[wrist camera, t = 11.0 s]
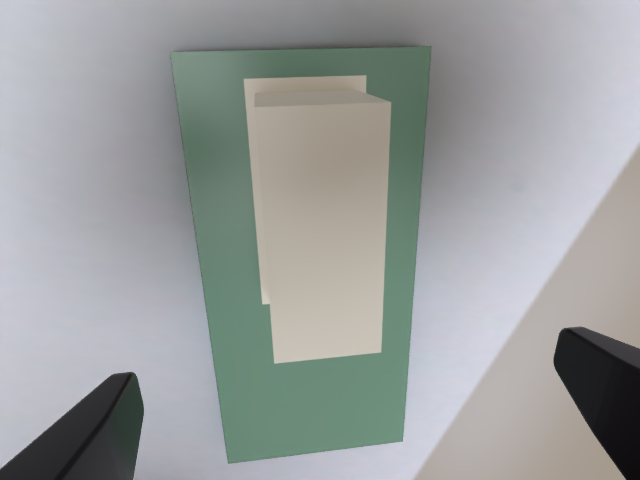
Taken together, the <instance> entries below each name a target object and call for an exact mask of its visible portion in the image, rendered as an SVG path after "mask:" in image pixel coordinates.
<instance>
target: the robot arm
mask: <svg viewBox="0 0 640 480" xmlns="http://www.w3.org/2000/svg"><path fill="white" fill-rule="evenodd" d="M554 366H555V369H556V371H557V373H558V375H559V376H560V378H561V380H562V382H563V383H564V385H565V387H566V388H567V390H568V392H569V394H570V395H571V397H572V398H573V400H574V402H575V404H576V405H577V407H578V409H579V411H580V412H581V414H582V416H583V417H584V419H585V421H586V422H587V424H588V426H589V427H590V429H591V430H592V432H593V434H594V435H595V437H596V438H597V439H598V441H599V442H600V444H601V445H602V447H603V448H604V449H605V451H606V452H607V454H608V455H609V456H610V458H611V459H612V461H613V462H614V463H615V465H616V466H617V468H618V469H619V470H620V472H621V473H622V475H623V476H624V477H625V479H626V480H640V349H639V348H636V347H634V346H631V345H628V344H625V343H623V342H621V341H618V340H615V339H613V338H610V337H607V336H604V335H602V334H600V333H597V332H594V331H592V330H589V329H587V328H584V327H570V328H564V329H562V330H561V332H560V333H559V337H558V341H557V345H556V350H555V354H554ZM143 415H144V406H143V401H142V396H141V392H140V388H139V383H138V379H137V376H136V374H135V373H133V372H126V373H116V374H113V375H111V376H110V377H108V378H107V379H106V380H105V381H104V382H102V383H101V384H100V385H99V386H98V387H97V388H95V389H94V390H93V391H92V392H91V393H89V394H88V395H87V396H86V397H85V398H84V399H82V400H81V401H80V402H79V403H78V404H76V405H75V406H74V407H73V408H72V409H71V410H69V411H68V412H67V413H66V414H65V415H64V416H62V417H61V418H60V419H59V420H58V421H56V422H55V423H54V424H53V425H52V426H51V427H49V428H48V429H47V430H46V431H45V432H43V433H42V434H41V435H40V436H39V437H38V438H36V439H35V440H34V441H33V442H32V443H31V444H29V445H28V446H27V447H26V448H25V449H23V450H22V451H21V452H20V453H19V454H18V455H16V456H15V457H14V458H13V459H12V460H10V461H9V462H8V463H7V464H6V465H5V466H3V467H2V468H1V469H0V480H133V477H134V471H135V465H136V459H137V452H138V446H139V440H140V434H141V428H142V422H143Z"/></svg>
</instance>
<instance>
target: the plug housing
mask: <svg viewBox="0 0 640 480" xmlns="http://www.w3.org/2000/svg"><path fill="white" fill-rule="evenodd" d="M255 120H256V133H257V146H258V159H259V172H260V185H261V198H262V211H263V224H264V237H265V250H266V263H267V276H268V289H269V302H270V315H271V328H272V341H273V354H274V364H276V363H285V362H295V361H305V360H314V359H324V358H333V357H343V356H352V355H362V354H371V353H381V346H382V321H383V297H384V272H385V247H386V222H387V197H388V172H389V147H390V122H391V102H390V101H387V100H384V99H381V98H378V97H375V96H373V95H370V94H367V93H364V92H361V91H359V90H328V91H298V92H268V93H255Z"/></svg>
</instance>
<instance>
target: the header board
mask: <svg viewBox="0 0 640 480" xmlns="http://www.w3.org/2000/svg"><path fill="white" fill-rule="evenodd" d="M430 56H431V46H423V47H376V48H329V49H282V50H235V51H188V52H170V58H171V65H172V72H173V79H174V86H175V93H176V100H177V107H178V114H179V121H180V128H181V135H182V142H183V149H184V156H185V163H186V170H187V178H188V185H189V192H190V199H191V206H192V213H193V220H194V227H195V234H196V241H197V248H198V255H199V262H200V269H201V276H202V283H203V291H204V298H205V305H206V312H207V319H208V326H209V333H210V340H211V347H212V354H213V361H214V368H215V375H216V382H217V389H218V396H219V404H220V411H221V418H222V425H223V432H224V439H225V446H226V453H227V460H228V464H230V463H238V462H246V461H254V460H262V459H269V458H277V457H285V456H293V455H300V454H308V453H316V452H324V451H332V450H339V449H347V448H355V447H363V446H371V445H378V444H386V443H394V442H402V441H403V433H404V419H405V405H406V391H407V377H408V363H409V349H410V335H411V321H412V307H413V293H414V279H415V265H416V251H417V237H418V224H419V210H420V196H421V182H422V168H423V154H424V140H425V126H426V112H427V98H428V84H429V70H430ZM328 90H359V91H361V92H364V93H367V94H370V95H373V96H375V97H378V98H381V99H384V100H387V101H390V102H391V122H390V147H389V172H388V197H387V222H386V247H385V272H384V297H383V321H382V346H381V353H371V354H362V355H352V356H343V357H333V358H324V359H314V360H305V361H295V362H285V363H276V364H274V354H273V341H272V328H271V315H270V302H269V289H268V276H267V263H266V250H265V237H264V224H263V211H262V198H261V185H260V172H259V159H258V146H257V133H256V120H255V93H268V92H298V91H328Z"/></svg>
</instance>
